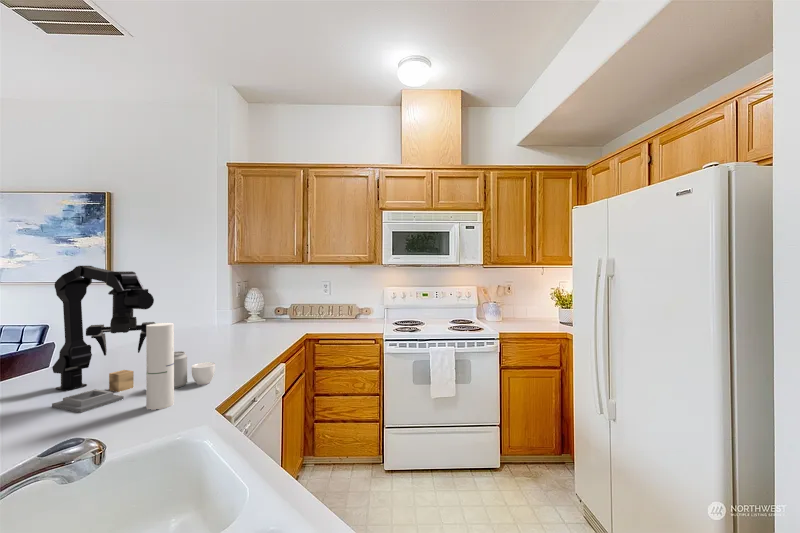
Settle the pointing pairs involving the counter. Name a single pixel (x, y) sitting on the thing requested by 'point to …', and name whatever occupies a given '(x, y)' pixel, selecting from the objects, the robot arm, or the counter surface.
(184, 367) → the can
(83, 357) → the robot arm
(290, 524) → the counter surface
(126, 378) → the oak block
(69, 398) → the grey tray
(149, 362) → the cylindrical container
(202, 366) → the cup
